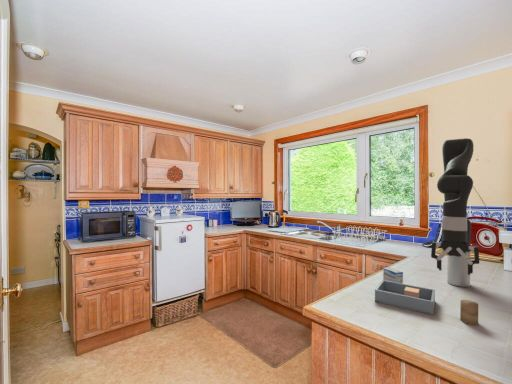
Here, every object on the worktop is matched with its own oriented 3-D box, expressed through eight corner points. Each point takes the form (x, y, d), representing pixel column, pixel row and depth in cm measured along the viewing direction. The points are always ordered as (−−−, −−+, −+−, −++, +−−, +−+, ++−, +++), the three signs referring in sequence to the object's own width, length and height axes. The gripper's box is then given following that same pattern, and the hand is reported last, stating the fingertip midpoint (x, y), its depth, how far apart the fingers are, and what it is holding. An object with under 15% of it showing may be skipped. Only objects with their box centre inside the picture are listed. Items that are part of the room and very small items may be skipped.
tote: (382, 290, 124) (382, 279, 124) (434, 301, 112) (435, 289, 112) (374, 301, 112) (374, 289, 112) (433, 315, 100) (433, 302, 100)
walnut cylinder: (460, 317, 98) (460, 298, 98) (477, 321, 95) (477, 301, 95) (460, 322, 94) (460, 303, 94) (478, 326, 91) (479, 306, 91)
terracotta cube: (405, 298, 114) (405, 286, 114) (419, 301, 111) (419, 289, 111) (404, 302, 110) (404, 290, 110) (418, 305, 107) (418, 292, 107)
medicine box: (382, 285, 131) (382, 268, 131) (389, 284, 133) (389, 267, 133) (396, 291, 124) (396, 272, 124) (403, 289, 125) (403, 271, 125)
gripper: (478, 229, 97) (478, 273, 96) (432, 226, 105) (432, 266, 105) (479, 231, 91) (479, 278, 91) (430, 227, 99) (430, 270, 99)
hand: (454, 272), depth 98 cm, fingers open, 8 cm apart
